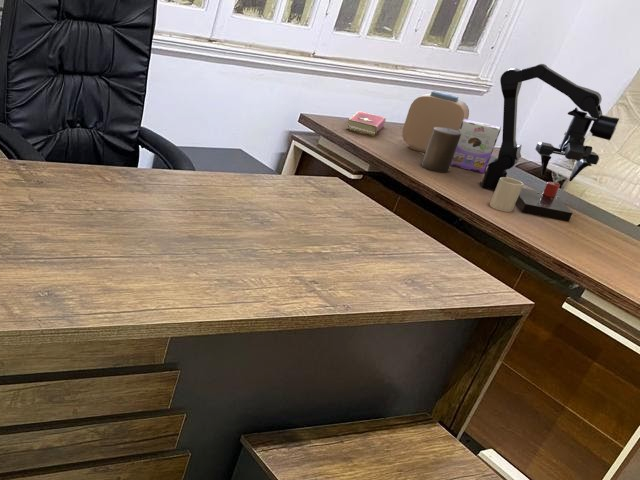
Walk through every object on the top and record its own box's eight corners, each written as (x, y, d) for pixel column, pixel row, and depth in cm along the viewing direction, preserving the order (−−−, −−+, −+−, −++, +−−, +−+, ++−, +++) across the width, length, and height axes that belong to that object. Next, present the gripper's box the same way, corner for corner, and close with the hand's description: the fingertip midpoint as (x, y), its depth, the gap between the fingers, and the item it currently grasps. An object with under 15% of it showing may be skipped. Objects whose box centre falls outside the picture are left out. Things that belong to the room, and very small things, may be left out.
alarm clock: (454, 155, 310) (475, 99, 298) (449, 159, 303) (470, 102, 291) (404, 141, 318) (422, 86, 307) (397, 145, 311) (415, 88, 299)
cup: (491, 209, 256) (502, 182, 251) (487, 201, 262) (498, 175, 257) (514, 213, 255) (526, 186, 250) (509, 206, 261) (520, 180, 256)
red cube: (544, 195, 267) (549, 183, 264) (541, 192, 270) (546, 180, 268) (556, 198, 266) (561, 185, 264) (553, 194, 270) (558, 182, 267)
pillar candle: (447, 174, 284) (463, 132, 276) (420, 168, 287) (434, 126, 279) (448, 168, 292) (463, 127, 284) (421, 161, 295) (435, 121, 286)
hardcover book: (383, 127, 335) (386, 117, 333) (374, 136, 318) (377, 125, 316) (355, 120, 339) (358, 110, 336) (345, 129, 322) (348, 118, 320)
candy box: (485, 170, 297) (502, 126, 288) (484, 173, 292) (501, 129, 284) (447, 161, 301) (463, 117, 292) (446, 164, 296) (462, 120, 288)
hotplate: (521, 212, 257) (525, 203, 255) (508, 193, 274) (512, 184, 273) (570, 222, 256) (574, 213, 254) (554, 202, 273) (557, 193, 271)
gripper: (553, 132, 251) (533, 179, 259) (614, 143, 249) (591, 191, 258) (545, 124, 260) (525, 170, 269) (603, 135, 259) (581, 181, 267)
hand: (555, 178), depth 265 cm, fingers open, 9 cm apart
